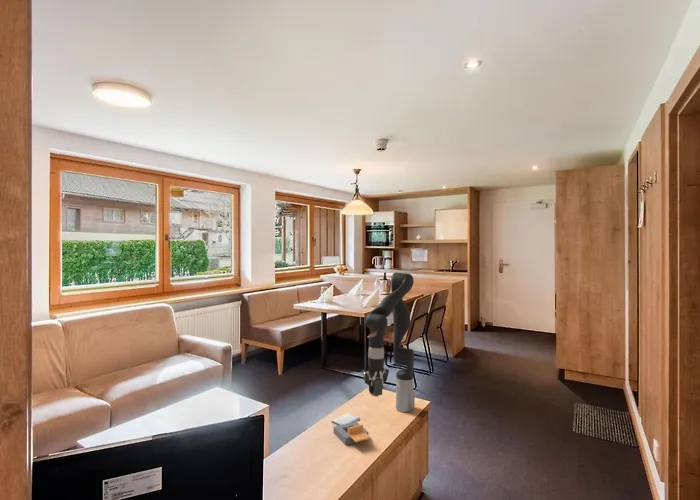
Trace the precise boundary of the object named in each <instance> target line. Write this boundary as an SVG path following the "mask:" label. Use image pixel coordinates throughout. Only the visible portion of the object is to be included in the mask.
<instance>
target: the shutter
mask: <svg viewBox="0 0 700 500" xmlns="http://www.w3.org/2000/svg"><path fill="white" fill-rule="evenodd" d="M363 428H364V424H363V423H362V424H359V425H357V426H353V427H349V428H348V435H349V436H350V437H351V438H352V439H353V440H354V441H355V442H354V443H359V442H362V441H366V440H367V441H368V440H370V439H371V436H370V435H369V433H368V434H367V433H366V432H364V431H363Z"/></svg>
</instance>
